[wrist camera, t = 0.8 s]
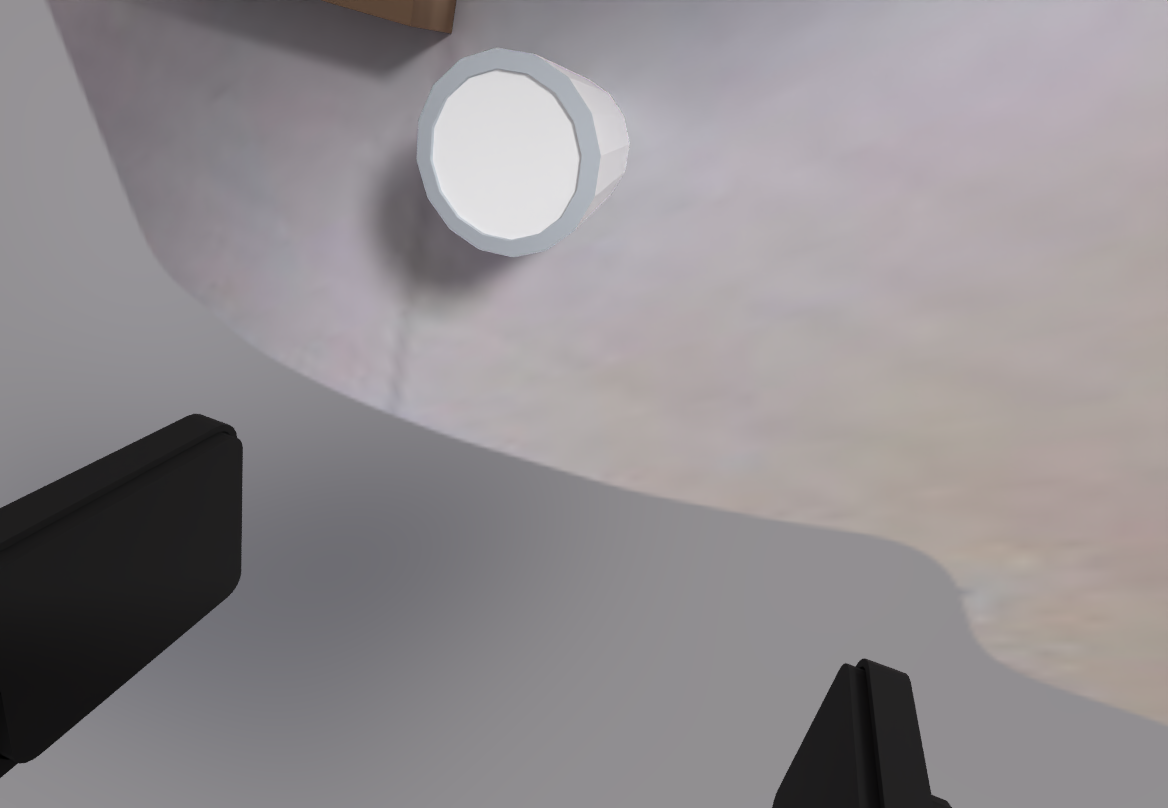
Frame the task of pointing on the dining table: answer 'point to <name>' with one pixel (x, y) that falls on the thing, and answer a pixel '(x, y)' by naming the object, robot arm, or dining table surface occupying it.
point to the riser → (407, 11)
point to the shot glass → (518, 150)
